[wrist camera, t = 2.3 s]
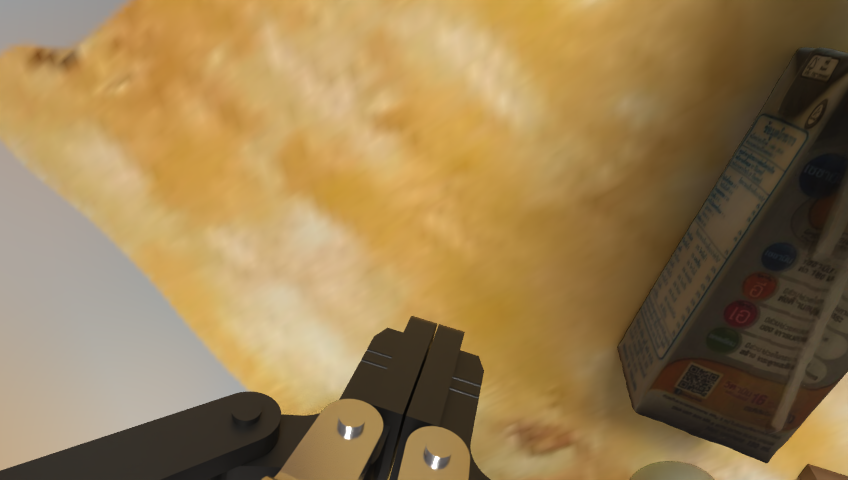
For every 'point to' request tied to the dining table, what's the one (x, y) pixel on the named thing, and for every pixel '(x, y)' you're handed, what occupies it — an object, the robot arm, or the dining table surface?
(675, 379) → the beverage carton
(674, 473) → the grey rounded cylinder
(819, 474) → the frame
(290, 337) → the dining table surface
